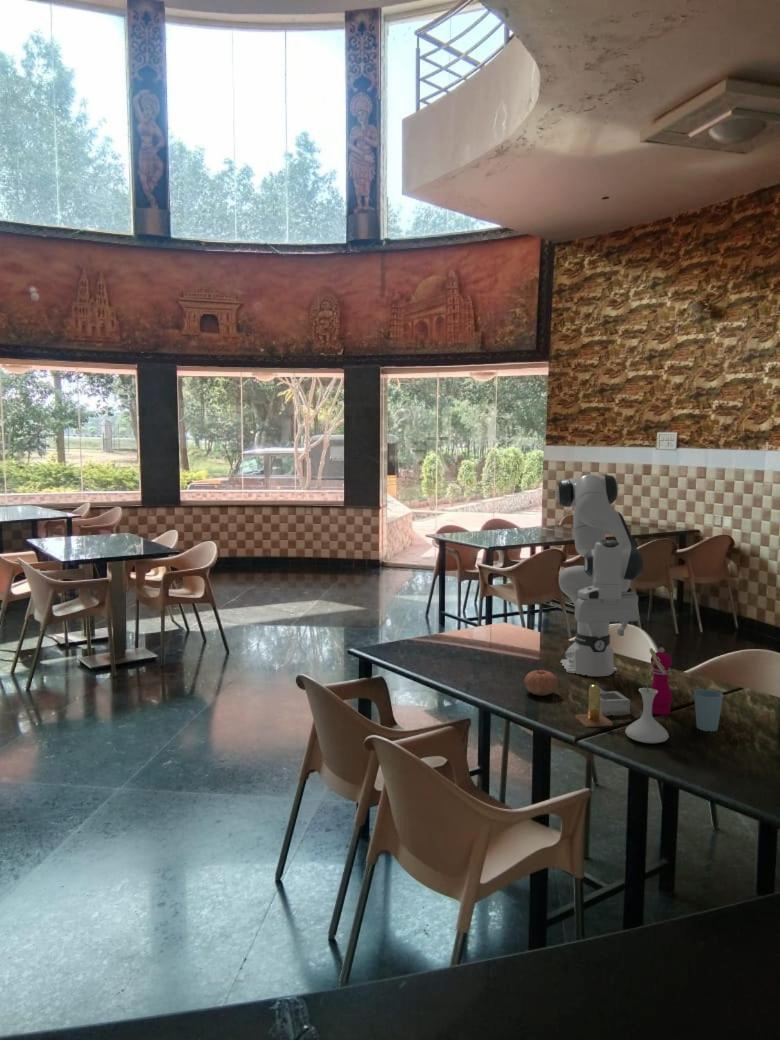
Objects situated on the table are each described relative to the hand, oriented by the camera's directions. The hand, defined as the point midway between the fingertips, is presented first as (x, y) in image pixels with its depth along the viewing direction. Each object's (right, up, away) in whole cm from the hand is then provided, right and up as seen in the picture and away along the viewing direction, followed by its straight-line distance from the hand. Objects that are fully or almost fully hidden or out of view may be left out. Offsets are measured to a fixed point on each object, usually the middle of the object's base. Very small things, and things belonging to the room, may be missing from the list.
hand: (606, 635), depth 238 cm
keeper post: (-8, -23, -15) cm, 29 cm away
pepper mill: (+15, -23, -6) cm, 27 cm away
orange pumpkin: (-18, -21, +11) cm, 30 cm away
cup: (+23, -24, -21) cm, 39 cm away
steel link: (-1, -22, -1) cm, 22 cm away
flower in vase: (+3, -24, -29) cm, 38 cm away
